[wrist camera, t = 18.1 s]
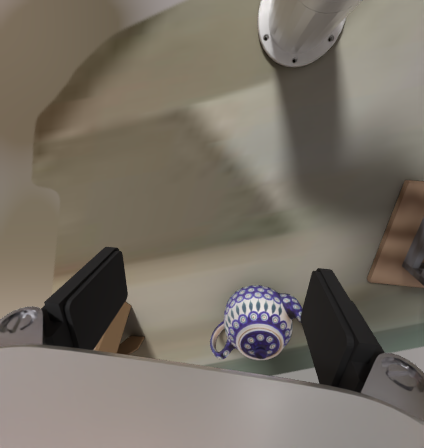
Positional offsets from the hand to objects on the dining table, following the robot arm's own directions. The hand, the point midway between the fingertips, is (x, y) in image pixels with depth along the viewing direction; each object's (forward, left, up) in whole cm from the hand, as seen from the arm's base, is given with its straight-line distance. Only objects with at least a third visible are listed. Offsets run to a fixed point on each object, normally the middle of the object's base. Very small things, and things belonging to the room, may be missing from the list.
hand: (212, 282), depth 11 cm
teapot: (+33, +8, -36) cm, 50 cm away
